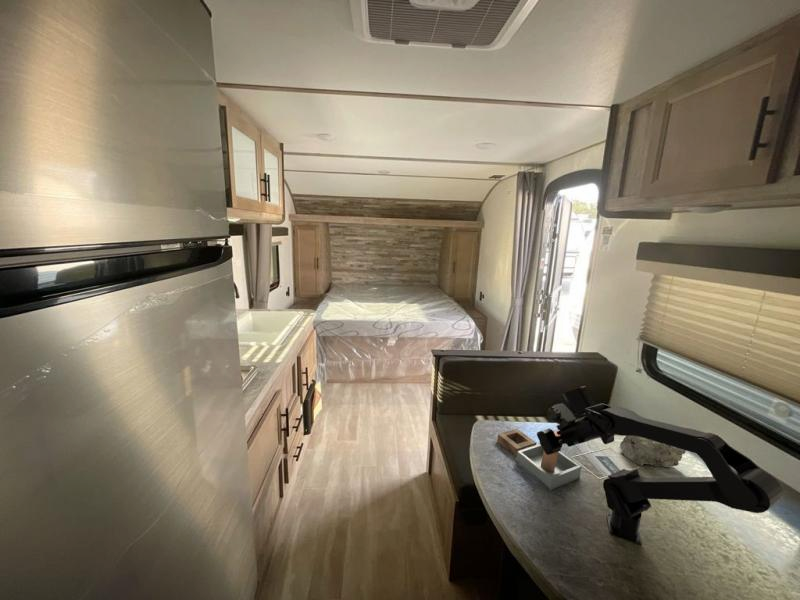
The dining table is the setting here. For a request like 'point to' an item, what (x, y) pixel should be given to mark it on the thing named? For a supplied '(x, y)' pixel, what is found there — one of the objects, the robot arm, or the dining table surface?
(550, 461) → the dowel
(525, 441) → the socket block
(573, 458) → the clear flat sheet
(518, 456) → the tray
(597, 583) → the dining table surface
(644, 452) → the stone
